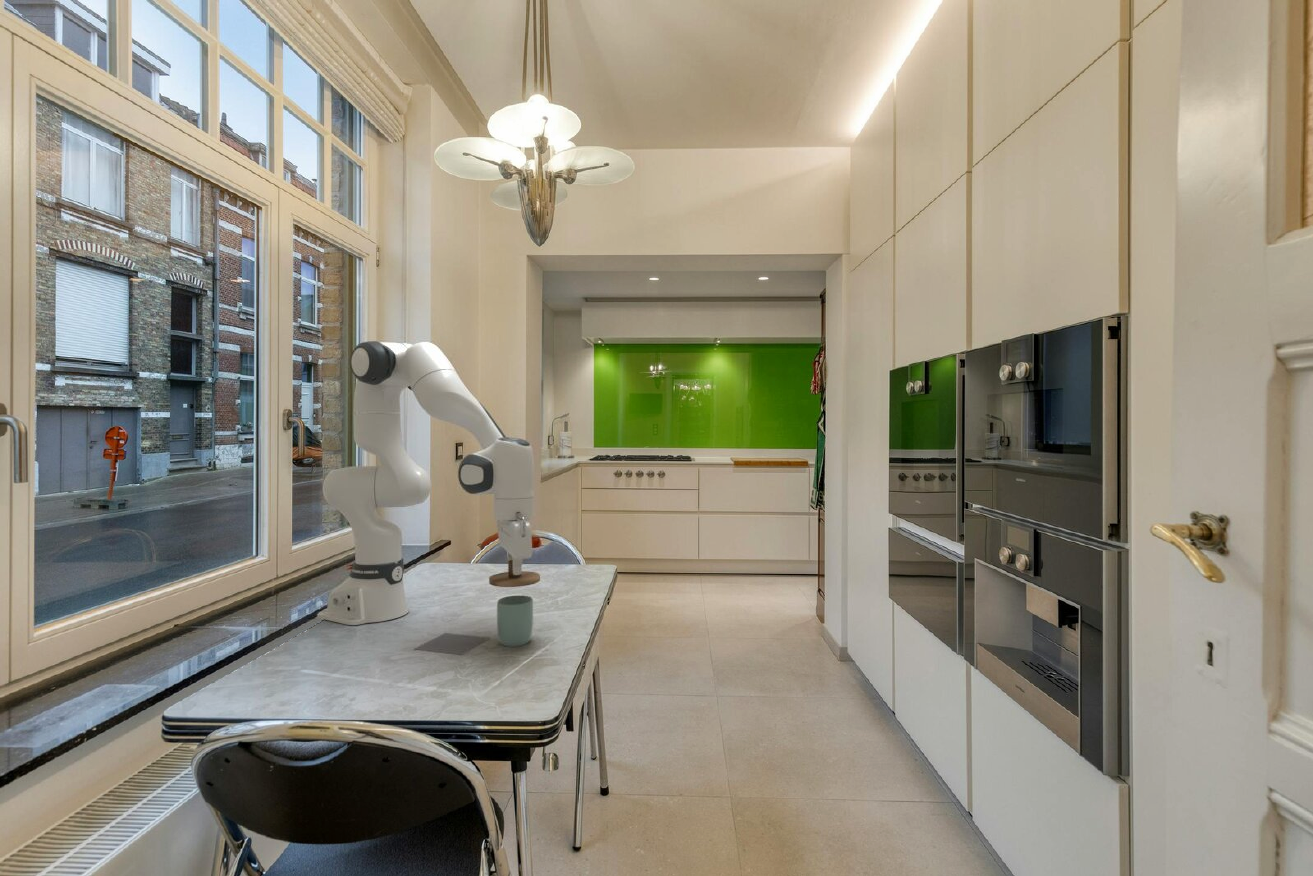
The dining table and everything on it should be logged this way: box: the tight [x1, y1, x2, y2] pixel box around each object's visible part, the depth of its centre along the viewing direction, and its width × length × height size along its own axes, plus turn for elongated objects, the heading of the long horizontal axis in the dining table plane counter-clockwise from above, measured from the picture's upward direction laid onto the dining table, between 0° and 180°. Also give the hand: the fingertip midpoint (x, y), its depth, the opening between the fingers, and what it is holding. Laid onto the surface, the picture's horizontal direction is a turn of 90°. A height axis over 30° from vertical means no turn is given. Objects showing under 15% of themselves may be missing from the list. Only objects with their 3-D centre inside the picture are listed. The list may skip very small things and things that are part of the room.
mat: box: [413, 632, 491, 656], centre depth 131 cm, size 12×11×1 cm
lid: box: [488, 560, 541, 588], centre depth 131 cm, size 11×11×4 cm
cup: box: [496, 595, 534, 648], centre depth 131 cm, size 8×8×10 cm
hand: (514, 572), depth 131 cm, fingers closed on lid, 3 cm apart
